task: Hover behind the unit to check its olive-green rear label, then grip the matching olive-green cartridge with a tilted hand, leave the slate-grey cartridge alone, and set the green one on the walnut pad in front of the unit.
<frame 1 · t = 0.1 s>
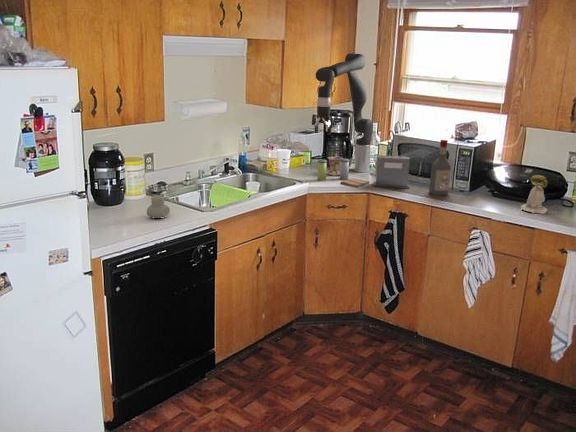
hand: (322, 133, 341), 29 cm above the countertop, tool pointing down, fingers open, 8 cm apart
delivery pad: (354, 183, 351), on the countertop
beige tapered lump: (533, 210, 308), on the countertop
grey cartridge: (344, 178, 362), on the countertop
liquor: (438, 193, 335), on the countertop
grey brown bulbous piece: (158, 217, 282), on the countertop
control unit: (391, 185, 349), on the countertop
green cartridge: (321, 180, 357), on the countertop
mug: (332, 175, 371), on the countertop
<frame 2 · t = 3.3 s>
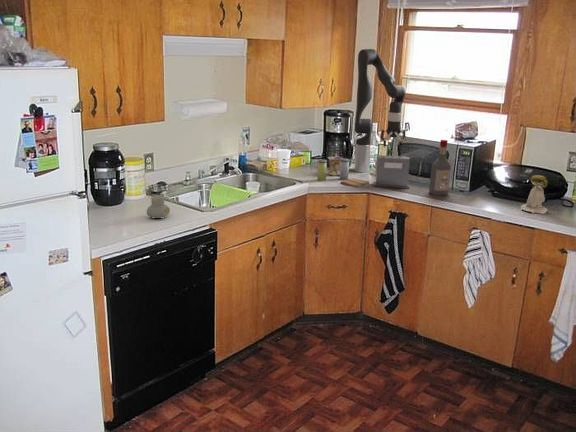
hand: (392, 147, 355), 20 cm above the countertop, tool pointing down, fingers open, 8 cm apart
nothing on the countertop moved.
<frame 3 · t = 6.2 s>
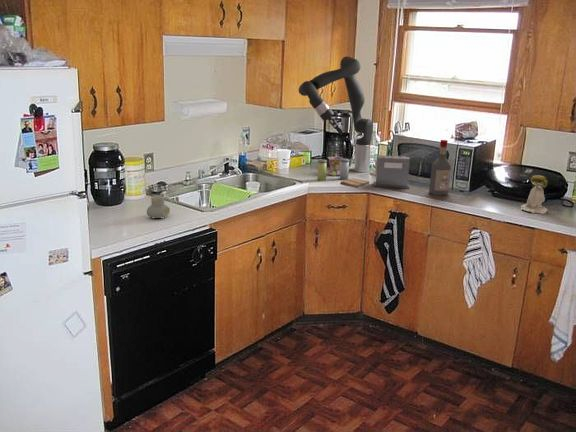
hand: (341, 133, 345), 29 cm above the countertop, tool tilted 40°, fingers open, 8 cm apart
nothing on the countertop moved.
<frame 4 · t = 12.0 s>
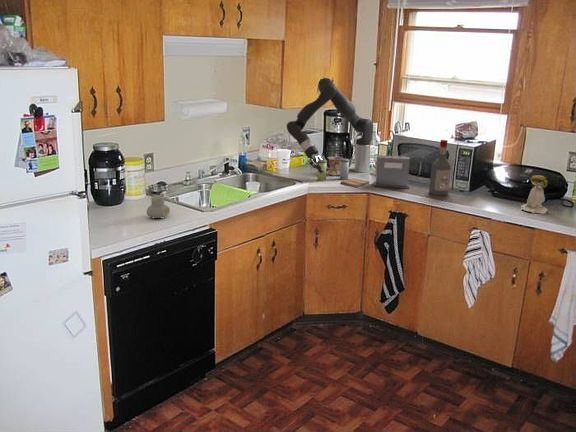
hand: (324, 171, 354), 6 cm above the countertop, tool tilted 45°, fingers closed on green cartridge, 5 cm apart
green cartridge: (321, 180, 357), on the countertop, touching gripper
everything else where it was.
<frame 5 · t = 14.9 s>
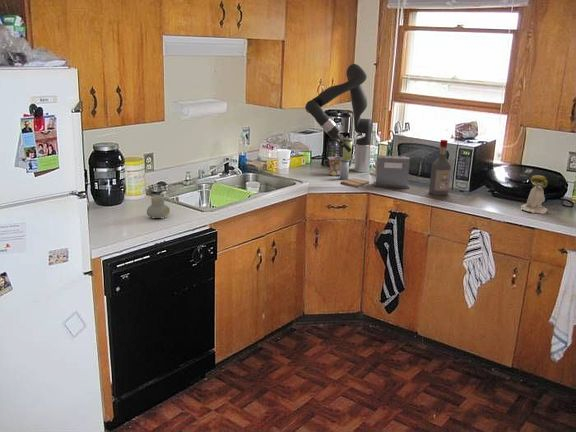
hand: (350, 149, 346), 20 cm above the countertop, tool tilted 45°, fingers closed on green cartridge, 5 cm apart
green cartridge: (346, 159, 348), point 14 cm above the countertop, touching gripper
everything else where it was.
when the fingers open (8 cm above the countertop, at t = 18.1 s): green cartridge stays where it is, resting on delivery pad.
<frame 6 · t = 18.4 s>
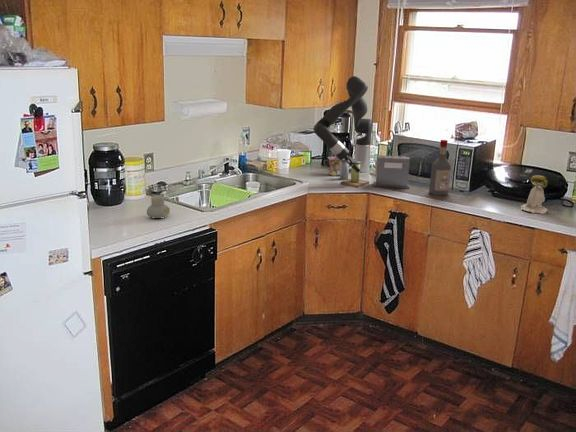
hand: (358, 170, 349), 8 cm above the countertop, tool tilted 45°, fingers open, 7 cm apart
green cartridge: (354, 181, 351), point 1 cm above the countertop, touching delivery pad
everything else where it was.
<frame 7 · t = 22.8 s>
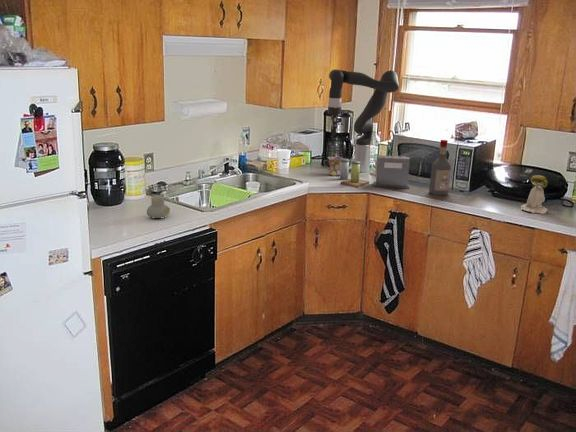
hand: (333, 134, 344), 29 cm above the countertop, tool pointing down, fingers open, 8 cm apart
nothing on the countertop moved.
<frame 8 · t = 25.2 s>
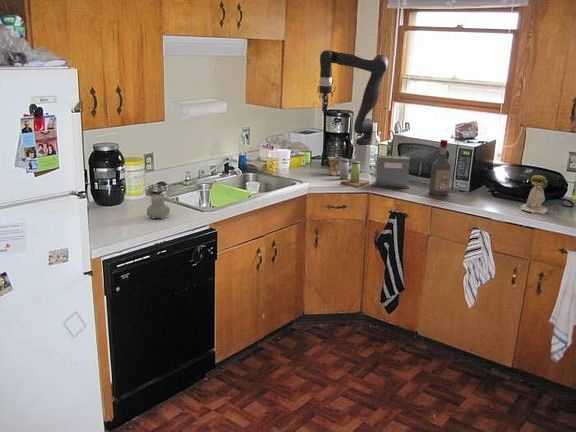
hand: (324, 112, 362), 38 cm above the countertop, tool pointing down, fingers open, 8 cm apart
nothing on the countertop moved.
at the end: green cartridge inside the target area on the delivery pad (0.1 cm from its centre), point 1.2 cm above the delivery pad's base; green cartridge tilted 0°; grey cartridge moved 0.0 cm from its start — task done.
